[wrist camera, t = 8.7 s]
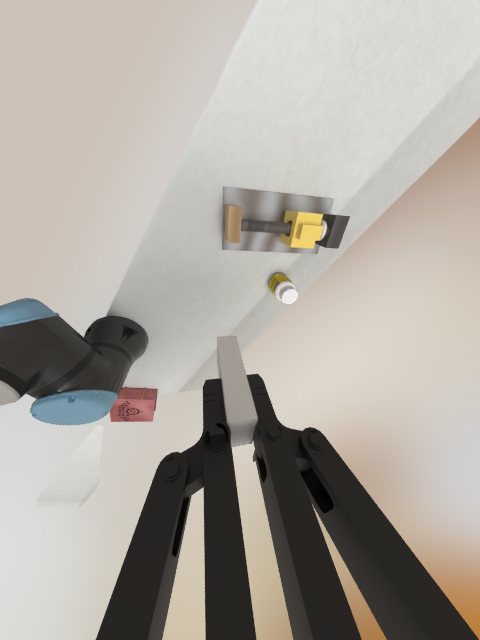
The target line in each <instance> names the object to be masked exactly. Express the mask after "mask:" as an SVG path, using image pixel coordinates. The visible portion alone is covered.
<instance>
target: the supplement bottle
mask: <svg viewBox="0 0 480 640" xmlns="http://www.w3.org/2000/svg"><path fill="white" fill-rule="evenodd" d="M268 286H269V288H270V290H271V291H272V292H273V294H274V295H275V297H276V298H277V299H278V300H280V301H283V303H285V304H291V303H293V302H294V301H295V300H296V299H297V296H298V293H297V291H296V287H295V285H294V284H293V283H292V282H291V281H290V280H289V279H288V278H287V277H286V276H285V275H284V274H283V273H279V272H278V273H274V274H273V275H271V276H270V278H269V280H268Z"/></svg>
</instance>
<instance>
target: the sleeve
mask: <svg viewBox="0 0 480 640" xmlns="http://www.w3.org/2000/svg"><path fill="white" fill-rule="evenodd" d="M322 217H323V214H317V213H308V212H297V211H286V213H285V218H284V223H292V227H291V231H290V234H281V239H280V242H282V243H283V244H285V245H287V246H289V247H294V248H314V245H315V241H316V240H318V241H319V240H320V237H321V233H322V230H323V227H324V226H320V224H321V221H322Z"/></svg>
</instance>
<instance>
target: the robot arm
mask: <svg viewBox="0 0 480 640" xmlns="http://www.w3.org/2000/svg"><path fill="white" fill-rule="evenodd" d="M147 344H148V337H147V334H146V332H145V331H144V329H143V328H142V327H141V326H139V325H138V324H137V323H135V322H133V321H131V320H129V319H126V318H122V317H116V316H108V317H103V318H100V319H98V320H96V321H94V322H93V323H92V324H91V326H90V327H89V328H88V329H87V331H86V333H85V336H84V338H83V337H82V336H81V335H80V334H79V333H78V332H77V331H75V330H74V329H73V328H72V327H71V326H70V325H69V324H67V323H66V322H65V321H64V320H63V319H62V318H61V317H59V314H58V313H54V312H53V311H52V310H51V309H49V308H48V307H47V306H45V305H44V304H43V303H42V302H40V301H38V300H35V299H29V298H26V299H21V300H17V301H14V302H11V303H8V304H5V305H2V306H0V405H5V404H9V403H13V402H16V401H17V400H19V399H20V398H21V397H22V396H23V395H24V394H25V393H26V394H28V395H30V396H32V397H34V398H36V399H37V400H36V401H34V402H33V404H32V407H31V410H30V412H31V414H32V416H33V417H34V418H36V419H37V420H40V421H42V422H46V423H50V424H56V425H80V424H87V423H91V422H94V421H97V420H99V419H101V418H103V417H104V416H106V415H107V413H108V412H109V411H110V410H111V408H112V406H113V404H114V402H115V401H116V400H117V398H118V395H119V393H120V390H121V388H122V386H123V383H124V381H125V379H126V376H127V374H128V372H129V369H130V367H131V365H132V364H133V363H134V362H135V361H136V360H137V359H138V358H139V357H140V356H141V355H142V354H143V353H144V351H145V349H146V347H147ZM217 364H218V373H219V379H211V380H206V381H205V384H204V386H203V433H202V436H201V438H200V440H199V441H198V442H197V443H196V444H195V445H194V446H192V447H191V448H189V449H187V450H185V451H184V452H182V453H179V452H174V453H171V454H169V455H167V456H166V457H165V458H164V459H163V460H162V461H161V462H160V464H159V466H158V468H157V470H156V473H155V476H154V479H153V481H152V484H151V487H150V490H149V493H148V495H147V498H146V501H145V504H144V507H143V509H142V512H141V515H140V518H139V521H138V524H137V526H136V529H135V532H134V535H133V537H132V540H131V543H130V546H129V549H128V551H127V554H126V557H125V560H124V563H123V565H122V568H121V571H120V574H119V576H118V579H117V582H116V585H115V588H114V590H113V593H112V596H111V599H110V602H109V604H108V607H107V610H106V613H105V616H104V618H103V621H102V624H101V627H100V630H99V632H98V635H97V638H96V640H162V637H163V632H164V627H165V622H166V618H167V613H168V608H169V603H170V598H171V593H172V587H173V583H174V579H175V574H176V569H177V564H178V559H179V554H180V549H181V544H182V539H183V534H184V530H185V524H186V519H187V515H188V510H189V505H190V500H191V495H193V494H194V493H196V492H197V491H198V490H200V489H201V488H203V487H204V541H205V542H204V543H205V544H204V545H205V617H206V619H205V620H206V640H256V633H255V626H254V618H253V610H252V603H251V595H250V587H249V579H248V572H247V564H246V556H245V548H244V540H243V533H242V525H241V518H240V510H239V502H238V494H237V487H236V480H235V479H236V478H235V471H234V463H233V455H232V448H231V447H235V446H240V445H246V444H251V443H252V442H253V441H254V446H255V451H254V455H253V461H255V460H256V465H257V469H258V474H259V479H260V484H261V488H262V493H263V498H264V502H265V507H266V511H267V516H268V521H269V526H270V530H271V535H272V540H273V545H274V549H275V554H276V559H277V564H278V568H279V573H280V577H281V582H282V587H283V592H284V597H285V602H286V606H287V611H288V616H289V620H290V625H291V630H292V635H293V639H294V640H362V639H361V637H360V634H359V631H358V628H357V625H356V623H355V620H354V618H353V615H352V612H351V609H350V607H349V604H348V601H347V598H346V596H345V593H344V590H343V587H342V585H341V582H340V579H339V577H338V574H337V571H336V568H335V566H334V563H333V561H332V558H331V555H330V552H329V549H328V547H327V544H326V541H325V539H324V536H323V533H322V530H321V528H320V525H319V522H318V519H317V517H316V514H315V511H314V509H313V506H314V508H315V510H316V512H317V513H318V515H319V517H320V518H321V521H322V522H323V524H324V526H325V528H326V530H327V532H328V533H329V535H330V537H331V539H332V541H333V542H334V544H335V546H336V548H337V550H338V552H339V553H340V555H341V557H342V559H343V561H344V562H345V564H346V566H347V568H348V570H349V572H350V573H351V575H352V577H353V579H354V581H355V582H356V584H357V586H358V588H359V590H360V592H361V593H362V595H363V597H364V599H365V601H366V603H367V604H368V606H369V608H370V610H371V612H372V613H373V615H374V617H375V619H376V621H377V623H378V624H379V626H380V628H381V630H382V632H383V633H384V635H385V637H386V639H387V640H479V639H478V638H477V636H476V635H475V634H474V632H473V631H472V630H471V628H470V627H469V626H468V624H467V623H466V622H465V620H464V619H463V618H462V616H461V615H460V614H459V613H458V611H457V610H456V609H455V607H454V606H453V605H452V603H451V602H450V601H449V599H448V598H447V597H446V595H445V594H444V593H443V592H442V590H441V589H440V587H439V586H438V585H437V584H436V582H435V581H434V580H433V578H432V577H431V576H430V574H429V573H428V572H427V570H426V569H425V568H424V566H423V565H422V564H421V562H420V561H419V560H418V558H417V557H416V556H415V555H414V553H413V552H412V551H411V549H410V548H409V547H408V545H407V544H406V543H405V541H404V540H403V539H402V537H401V536H400V535H399V533H397V531H396V530H395V528H394V527H393V526H392V524H391V523H390V522H389V520H388V519H387V518H386V516H385V515H384V514H383V512H382V511H381V510H380V509H379V507H378V506H377V504H376V503H375V502H374V500H373V499H372V498H371V497H370V495H369V494H368V493H367V491H366V490H365V489H364V487H363V486H362V485H361V484H360V482H359V481H358V479H357V478H356V477H355V476H354V474H353V473H352V472H351V470H350V469H349V468H348V466H347V465H346V464H345V462H344V461H343V460H342V458H341V457H340V456H339V454H338V453H337V452H336V451H335V449H334V448H333V447H332V445H331V444H330V443H329V441H328V440H327V439H326V437H325V436H324V435H323V434H322V433H321V432H320V431H319V430H317V429H315V428H311V427H309V428H305V430H303V431H299V430H295V429H290V428H287V427H285V426H283V425H282V424H281V423H280V422H279V421H278V419H277V417H276V415H275V412H274V410H273V407H272V404H271V401H270V398H269V395H268V392H267V390H266V387H265V384H264V381H263V379H262V378H261V377H260V376H259V375H258V374H252V375H246V372H245V368H244V364H243V361H242V357H241V353H240V349H239V346H238V342H237V338H236V336H226V337H217ZM311 502H312V503H311ZM312 504H313V506H312Z"/></svg>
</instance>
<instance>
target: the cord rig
mask: <svg viewBox="0 0 480 640" xmlns="http://www.w3.org/2000/svg"><path fill="white" fill-rule="evenodd" d="M333 201H334V199H330V198H321V197H312V196H303V195H293V194H284V193H275V192H266V191H257V190H248V189H238V188H229V187H224V191H223V241H222V250H242V251H264V252H286V253H308V254H317V252H318V249H319V246H323V247H325V248H339V245H340V242H341V240H342V237H343V234H344V231H345V229H346V226H347V223H348V221H349V218H350V216H340V215H331V214H330V210H331V207H332V204H333ZM286 211H297V212H308V213H317V214H323V217H322V221H321V224H320V226H324V227H323V230H322V233H321V237H320V240H319V241H318V240H316V241H315V245H314V248H294V247H289V246H287V245H285V244H283V243H282V242H280V239H281V234H290V231H291V227H292V223H284V218H285V213H286Z"/></svg>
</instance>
